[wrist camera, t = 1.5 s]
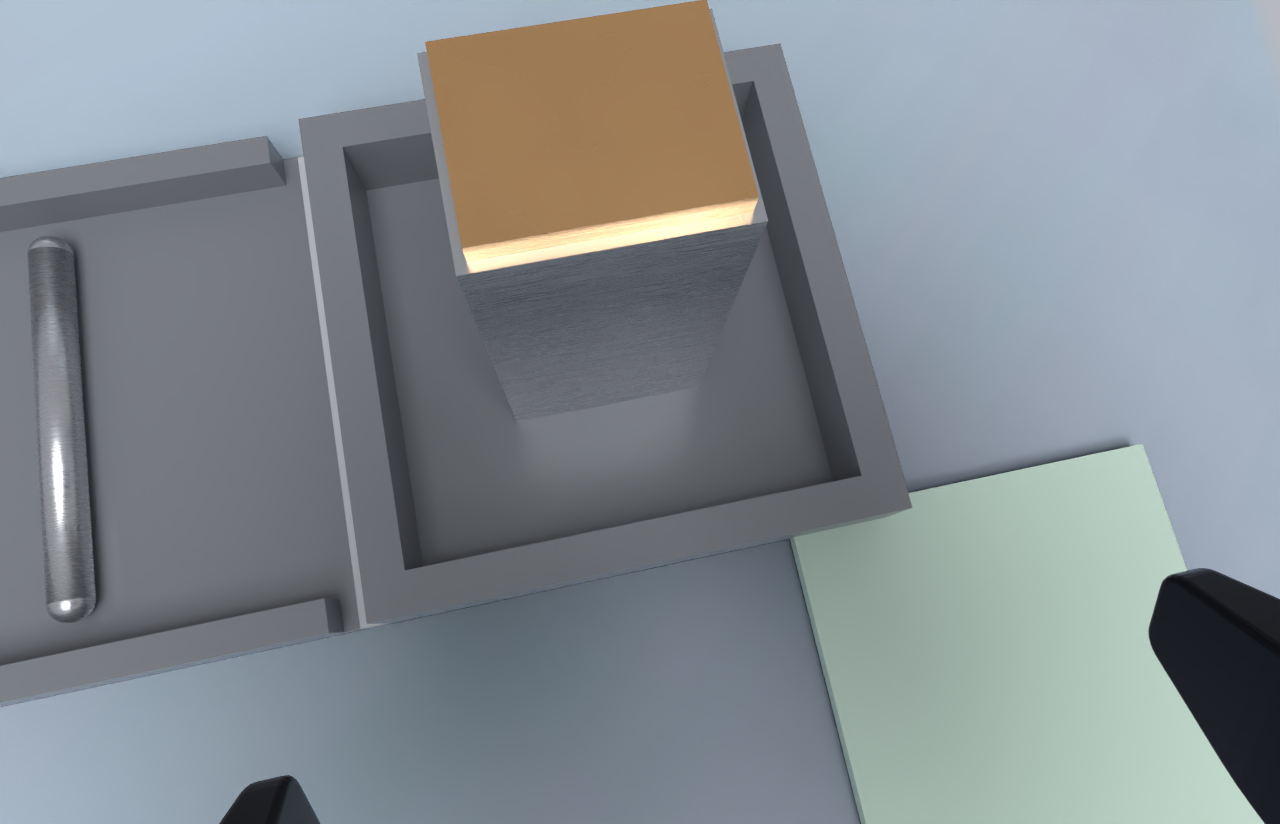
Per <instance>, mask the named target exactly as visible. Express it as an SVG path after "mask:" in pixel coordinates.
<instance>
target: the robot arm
mask: <svg viewBox="0 0 1280 824" xmlns="http://www.w3.org/2000/svg"><path fill="white" fill-rule="evenodd" d="M1148 634H1149V640H1150V644H1151V647H1152V649H1153V651H1154V653H1155V655H1156V657H1157V658H1158V660H1159V662H1160V663H1161V665H1162V667H1163V668H1164V670H1165V671H1166V673H1167V675H1168V676H1169V678H1170V680H1171V681H1172V683H1173V684H1174V686H1175V688H1176V689H1177V691H1178V693H1179V694H1180V696H1181V697H1182V699H1183V701H1184V702H1185V704H1186V706H1187V707H1188V709H1189V710H1190V712H1191V714H1192V715H1193V717H1194V719H1195V720H1196V722H1197V723H1198V725H1199V727H1200V728H1201V730H1202V732H1203V733H1204V735H1205V736H1206V738H1207V740H1208V741H1209V743H1210V745H1211V746H1212V748H1213V749H1214V751H1215V753H1216V754H1217V756H1218V758H1219V759H1220V761H1221V762H1222V764H1223V765H1224V767H1225V769H1226V770H1227V772H1228V773H1229V775H1230V776H1231V778H1232V779H1233V781H1234V782H1235V784H1236V785H1237V787H1238V788H1239V789H1240V791H1241V792H1242V794H1243V795H1244V796H1245V798H1246V799H1247V801H1248V802H1249V803H1250V805H1251V806H1252V808H1253V809H1254V810H1255V812H1256V813H1257V814H1258V816H1259V817H1260V818H1261V820H1262V821H1263V822H1264V824H1280V599H1278V598H1276V597H1274V596H1272V595H1269V594H1267V593H1265V592H1262V591H1260V590H1258V589H1255V588H1253V587H1251V586H1249V585H1246V584H1244V583H1242V582H1239V581H1237V580H1235V579H1233V578H1230V577H1228V576H1226V575H1223V574H1221V573H1219V572H1216V571H1214V570H1211V569H1206V568H1198V569H1192V570H1188V571H1183V572H1179V573H1175V574H1171V575H1169V576H1167V577H1166V578H1165V579H1164V580H1163V581H1162V583H1161V586H1160V589H1159V593H1158V596H1157V600H1156V603H1155V607H1154V610H1153V614H1152V617H1151V621H1150V624H1149V629H1148ZM219 824H320V822H319V820H318V818H317V816H316V814H315V812H314V810H313V809H312V807H311V805H310V803H309V801H308V799H307V797H306V795H305V794H304V792H303V790H302V788H301V786H300V784H299V783H298V781H297V780H296V779H295V778H294V777H292V776H290V775H285V776H280V777H276V778H271V779H267V780H263V781H258V782H255V783H252V784H250V785H249V786H247V787H246V788H245V789H244V790H243V791H242V792H241V793H240V795H239V796H238V798H237V799H236V800H235V802H234V803H233V805H232V806H231V808H230V809H229V811H228V812H227V813H226V815H225V816H224V818H223V819H222V821H221V822H220V823H219Z"/></svg>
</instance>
